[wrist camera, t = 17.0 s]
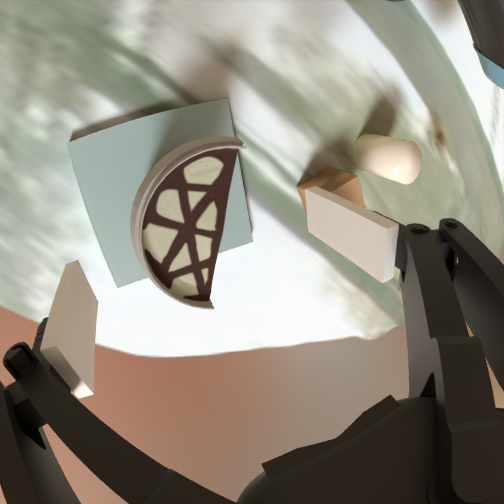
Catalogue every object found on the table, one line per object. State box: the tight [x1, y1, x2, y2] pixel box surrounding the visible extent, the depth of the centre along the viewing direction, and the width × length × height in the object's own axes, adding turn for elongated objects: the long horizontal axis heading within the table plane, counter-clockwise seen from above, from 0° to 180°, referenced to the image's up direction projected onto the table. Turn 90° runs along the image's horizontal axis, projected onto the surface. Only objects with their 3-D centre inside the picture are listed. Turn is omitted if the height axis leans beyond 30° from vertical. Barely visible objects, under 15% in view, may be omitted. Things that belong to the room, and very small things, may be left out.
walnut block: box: [296, 168, 365, 215], centre depth 32 cm, size 5×5×5 cm
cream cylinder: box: [353, 133, 421, 184], centre depth 31 cm, size 5×5×7 cm
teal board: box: [67, 98, 253, 288], centre depth 26 cm, size 15×15×1 cm
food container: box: [130, 136, 246, 309], centre depth 22 cm, size 12×6×10 cm, turn 166°
